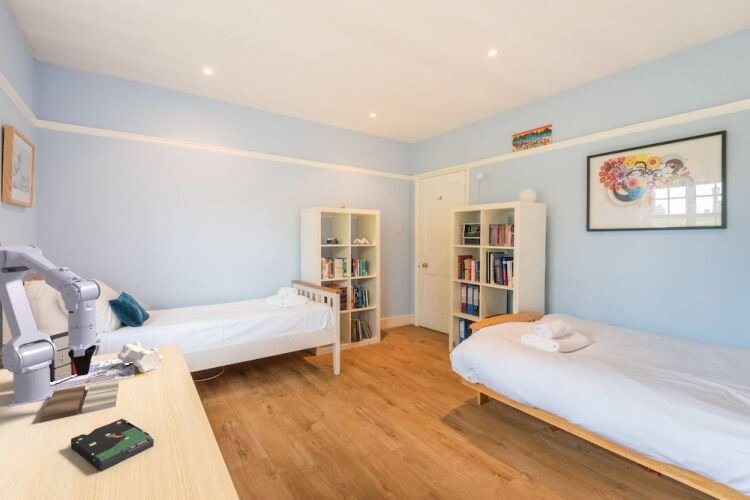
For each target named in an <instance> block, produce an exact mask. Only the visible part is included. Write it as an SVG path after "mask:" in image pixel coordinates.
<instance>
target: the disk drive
mask: <svg viewBox="0 0 750 500" xmlns="http://www.w3.org/2000/svg"><path fill="white" fill-rule="evenodd" d="M154 446H155V445H154V439H153V438H152V436H151V434H150V433H148V432H147V431H145V430H143V429H141V428H140V427H138V426H136V425H134V424H132V423H131V422H130V421H128V420H126V419H124V418H120V419H117V420H114V421H112V422H111V423H108V424H105V425H101V426H100V427H97V428H94V429H93V430H92V431H91V432H90V433H88V434H84V433H82V434H80V435H77V436H75V437H71V439H70V448H71V450H72V451H73V452H74V453H76V454H77V455H79V456H80V457H81V458H83V459H84V460H86V462H87V463H89V464H90V465H91V466H93V468H94V469H97V470H98V472H100V473H101V472H104V471H106V470H109V469H110V468H112V467H114V466H116V465H118V464H120V463H121V462H124V461H126V460H128V459H130V458H132V457H134V456H137V455H139V454H140V453H143V452H144V451H146V450H149V449H151V448H153V447H154Z"/></svg>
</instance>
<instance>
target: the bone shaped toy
mask: <svg viewBox="0 0 750 500" xmlns="http://www.w3.org/2000/svg"><path fill="white" fill-rule="evenodd" d="M163 358H164V357H163V355H162V354H159V350H158V348H157V347H150V349H147V350H146V349H145V348H143V347H142V344H141V342H139V341H135V342H134V343H133V344H131V343H125V344H123V346H122V349H121V351H120V352H119V353H117V359H118V360H121V362H123V363H130V362H133V365H134V366H135V367H137V368H138V372H139V373H142V374H146V373H147V372H149V371H156V370H158V368H159V364H160V363H161V361H162V360H163ZM123 363H122V364H123Z"/></svg>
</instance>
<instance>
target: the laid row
mask: <svg viewBox="0 0 750 500" xmlns="http://www.w3.org/2000/svg"><path fill="white" fill-rule="evenodd" d="M85 393H86V385H81V386H76V387H75V386H74V387H70V388H64V389H59V390H53V392H52V394H51V396H50V397H49V399H48V402H47V403H46V405H45V407H44V409H43V410H42V413H41V414H40V416H39V423H40V424H41V423H47V422H50V421H55V420H60V419H64V418H69V417H74V416H78V413H79V409H80V406H81V404H82V401H83V398H84V397H85V396H84V395H85Z"/></svg>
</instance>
